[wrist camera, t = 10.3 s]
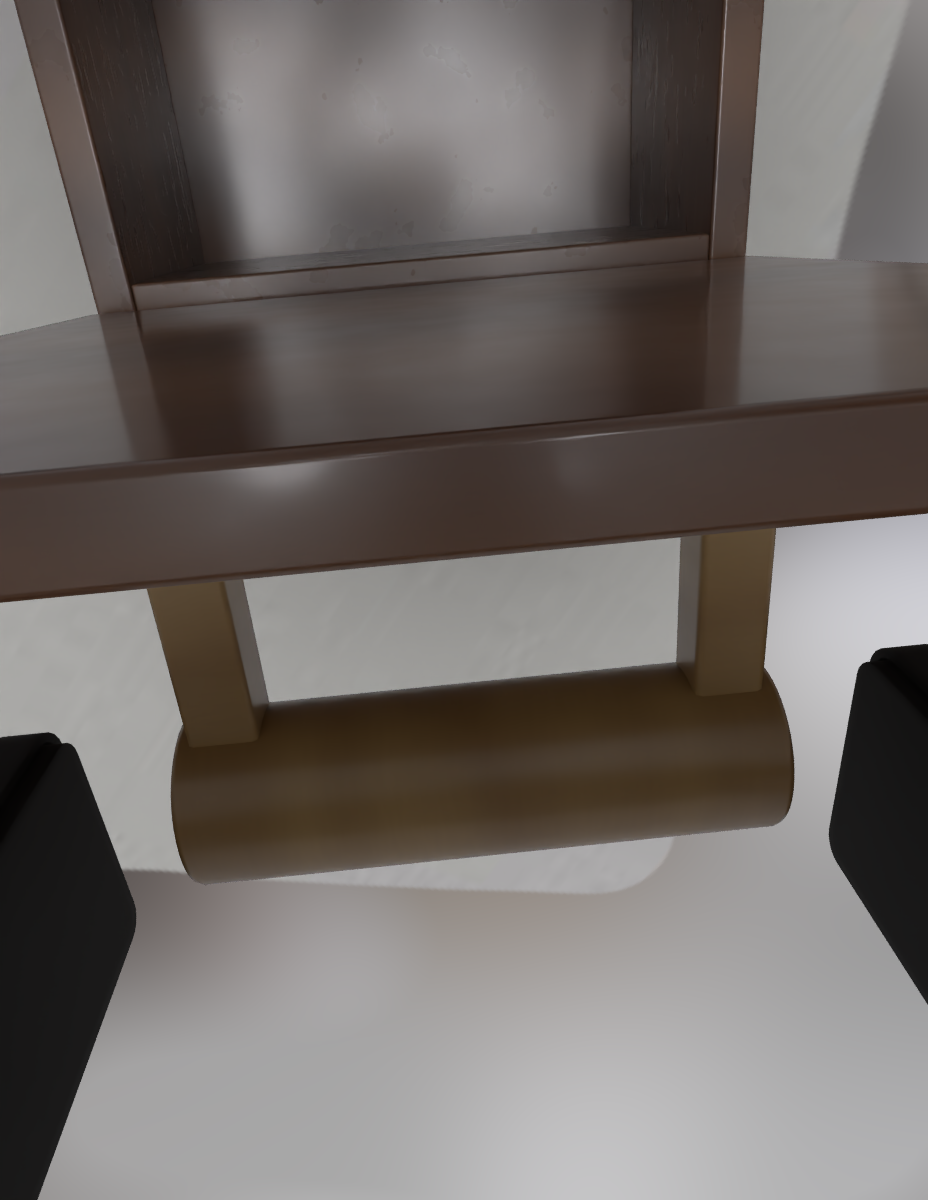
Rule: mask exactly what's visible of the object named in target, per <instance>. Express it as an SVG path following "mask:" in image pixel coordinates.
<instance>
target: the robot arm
mask: <svg viewBox="0 0 928 1200" xmlns="http://www.w3.org/2000/svg"><path fill="white" fill-rule="evenodd" d="M829 840H830V846H831V850H832V853H833V856H834V858H835V860H836V862H837V863H838V865H839V866H840V868H841V870H842V871H843V873H844V874H845V876H846V877H847V879H848V881H849V882H850V884H851V885H852V887H853V888H854V890H855V892H856V893H857V895H858V896H859V898H860V899H861V901H862V902H863V904H864V905H865V907H866V909H867V910H868V912H869V913H870V915H871V916H872V918H873V920H874V921H875V923H876V924H877V926H878V927H879V929H880V931H881V932H882V934H883V935H884V937H885V938H886V940H887V941H888V943H889V945H890V946H891V948H892V949H893V951H894V952H895V954H896V956H897V957H898V959H899V960H900V962H901V963H902V965H903V966H904V968H905V970H906V971H907V973H908V974H909V976H910V977H911V979H912V980H913V982H914V984H915V985H916V987H917V988H918V990H919V991H920V993H921V995H922V996H923V998H924V999H925V1001H926V1003H927V1004H928V644H921V645H911V646H901V647H891V648H882V649H879V650H877V651H875V653H874V654H873V655H872V657H871V660H870V662H866V663H863V664H862V665H861V666H860V667H859V669H858V673H857V677H856V683H855V688H854V694H853V700H852V705H851V710H850V716H849V721H848V727H847V733H846V738H845V744H844V750H843V755H842V761H841V766H840V771H839V777H838V783H837V788H836V794H835V800H834V805H833V810H832V816H831V822H830V828H829ZM135 927H136V908H135V904H134V901H133V898H132V896H131V893H130V890H129V888H128V885H127V882H126V880H125V877H124V874H123V872H122V869H121V867H120V864H119V861H118V859H117V856H116V853H115V851H114V848H113V845H112V843H111V840H110V838H109V835H108V832H107V830H106V827H105V824H104V822H103V819H102V816H101V814H100V811H99V809H98V806H97V803H96V801H95V798H94V795H93V793H92V790H91V787H90V785H89V782H88V780H87V777H86V774H85V772H84V769H83V766H82V764H81V761H80V758H79V756H78V753H77V751H76V749H75V748H74V747H73V746H72V745H71V744H69V743H61V741H60V739H59V738H58V737H57V736H56V735H55V734H52V733H49V732H48V733H38V734H28V735H18V736H8V737H1V738H0V1200H37V1199H38V1197H39V1194H40V1191H41V1188H42V1186H43V1182H44V1180H45V1177H46V1175H47V1172H48V1169H49V1166H50V1163H51V1161H52V1158H53V1156H54V1153H55V1150H56V1147H57V1145H58V1142H59V1139H60V1136H61V1134H62V1131H63V1128H64V1125H65V1123H66V1120H67V1117H68V1114H69V1112H70V1109H71V1106H72V1104H73V1101H74V1098H75V1095H76V1093H77V1090H78V1087H79V1084H80V1082H81V1079H82V1076H83V1073H84V1071H85V1068H86V1065H87V1062H88V1060H89V1057H90V1054H91V1051H92V1049H93V1046H94V1043H95V1041H96V1038H97V1035H98V1032H99V1029H100V1027H101V1024H102V1021H103V1019H104V1016H105V1013H106V1010H107V1008H108V1005H109V1002H110V999H111V997H112V994H113V991H114V988H115V986H116V983H117V980H118V977H119V975H120V972H121V969H122V967H123V964H124V961H125V958H126V956H127V953H128V950H129V947H130V945H131V942H132V939H133V936H134V932H135Z"/></svg>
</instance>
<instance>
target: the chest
mask: <svg viewBox="0 0 928 1200" xmlns="http://www.w3.org/2000/svg"><path fill="white" fill-rule="evenodd" d="M14 3H15V6H16V10H17V14H18V17H19V21H20V25H21V29H22V32H23V36H24V40H25V43H26V47H27V51H28V55H29V58H30V62H31V66H32V69H33V73H34V77H35V81H36V84H37V88H38V92H39V95H40V99H41V103H42V106H43V110H44V114H45V118H46V121H47V125H48V129H49V132H50V136H51V140H52V144H53V147H54V151H55V155H56V158H57V162H58V166H59V170H60V173H61V177H62V181H63V184H64V188H65V192H66V196H67V199H68V203H69V207H70V210H71V214H72V218H73V222H74V225H75V229H76V233H77V236H78V240H79V244H80V248H81V251H82V255H83V259H84V262H85V266H86V270H87V274H88V277H89V281H90V285H91V288H92V292H93V296H94V300H95V303H96V307H97V311H98V314H106V313H117V312H129V311H140V310H151V309H162V308H173V307H185V306H196V305H207V304H218V303H230V302H241V301H252V300H263V299H274V298H286V297H297V296H308V295H319V294H330V293H342V292H353V291H364V290H375V289H386V288H398V287H409V286H420V285H431V284H442V283H454V282H465V281H476V280H487V279H498V278H510V277H521V276H532V275H543V274H554V273H566V272H577V271H588V270H599V269H610V268H622V267H633V266H644V265H655V264H666V263H678V262H689V261H700V260H711V259H723V258H734V257H745V254H746V240H747V227H748V213H749V200H750V186H751V173H752V160H753V146H754V133H755V119H756V106H757V92H758V79H759V65H760V52H761V38H762V25H763V11H764V0H14Z"/></svg>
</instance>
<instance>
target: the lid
mask: <svg viewBox="0 0 928 1200" xmlns="http://www.w3.org/2000/svg"><path fill="white" fill-rule="evenodd" d="M927 513H928V263H927V264H926V263H906V262H904V263H903V262H882V261H858V260H835V259H811V258H788V257H764V256H745V257H734V258H723V259H711V260H700V261H689V262H678V263H666V264H655V265H644V266H633V267H622V268H610V269H599V270H588V271H577V272H566V273H554V274H543V275H532V276H521V277H510V278H498V279H487V280H476V281H465V282H454V283H442V284H431V285H420V286H409V287H398V288H386V289H375V290H364V291H353V292H342V293H330V294H319V295H308V296H297V297H286V298H274V299H263V300H252V301H241V302H230V303H218V304H207V305H196V306H185V307H173V308H162V309H151V310H140V311H129V312H117V313H106V314H95V315H89V316H85V317H81V318H76V319H72V320H67V321H63V322H59V323H54V324H50V325H46V326H41V327H37V328H32V329H28V330H24V331H19V332H15V333H10V334H6V335H2V336H0V603H2V602H12V601H22V600H33V599H43V598H54V597H64V596H74V595H85V594H95V593H106V592H116V591H126V590H137V589H147V591H148V595H149V599H150V603H151V606H152V610H153V614H154V617H155V621H156V625H157V629H158V632H159V636H160V640H161V644H162V647H163V651H164V655H165V658H166V662H167V666H168V670H169V673H170V677H171V681H172V685H173V688H174V692H175V696H176V699H177V703H178V707H179V711H180V714H181V718H182V722H183V725H182V728H181V730H180V733H179V736H178V739H177V743H176V747H175V752H174V759H173V766H172V776H171V810H172V821H173V828H174V834H175V839H176V844H177V848H178V852H179V855H180V858H181V861H182V864H183V866H184V868H185V870H186V872H187V873H188V875H189V876H190V877H191V879H193V880H194V881H195V882H197V883H201V884H204V885H208V884H217V883H227V882H237V881H247V880H256V879H266V878H276V877H285V876H295V875H305V874H314V873H324V872H334V871H343V870H353V869H362V868H372V867H382V866H391V865H401V864H411V863H420V862H430V861H440V860H449V859H459V858H469V857H478V856H488V855H498V854H507V853H517V852H526V851H536V850H546V849H555V848H565V847H575V846H584V845H594V844H604V843H613V842H623V841H633V840H642V839H652V838H662V837H671V836H680V835H690V834H699V833H710V832H719V831H728V830H739V829H748V828H758V827H768V826H774V825H775V824H778V823H779V822H781V821H782V820H783V819H784V818H785V817H786V815H787V813H788V811H789V809H790V806H791V802H792V797H793V791H794V756H793V747H792V740H791V734H790V730H789V725H788V721H787V717H786V713H785V710H784V707H783V704H782V701H781V698H780V696H779V693H778V691H777V688H776V686H775V684H774V682H773V680H772V679H771V677H770V675H769V674H768V672H767V671H766V669H765V668H764V660H765V649H766V638H767V626H768V614H769V604H770V592H771V580H772V568H773V558H774V546H775V535H776V528H781V527H792V526H802V525H812V524H823V523H833V522H844V521H854V520H864V519H875V518H885V517H896V516H906V515H917V514H927ZM678 537H681V544H680V572H679V601H678V629H677V658H676V662H672V663H662V664H652V665H642V666H632V667H622V668H612V669H602V670H592V671H582V672H572V673H562V674H552V675H541V676H531V677H521V678H511V679H501V680H491V681H481V682H471V683H461V684H451V685H441V686H431V687H421V688H410V689H400V690H390V691H380V692H370V693H360V694H350V695H340V696H330V697H320V698H310V699H300V700H290V701H280V702H269V700H268V695H267V690H266V685H265V681H264V676H263V671H262V667H261V662H260V657H259V653H258V648H257V643H256V638H255V634H254V629H253V624H252V620H251V615H250V610H249V605H248V601H247V596H246V591H245V587H244V582H243V579H251V578H262V577H272V576H282V575H293V574H303V573H314V572H324V571H334V570H345V569H355V568H366V567H376V566H386V565H397V564H407V563H418V562H428V561H438V560H449V559H459V558H470V557H480V556H490V555H501V554H511V553H522V552H532V551H542V550H553V549H563V548H574V547H584V546H594V545H605V544H615V543H626V542H636V541H646V540H657V539H667V538H678Z"/></svg>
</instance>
